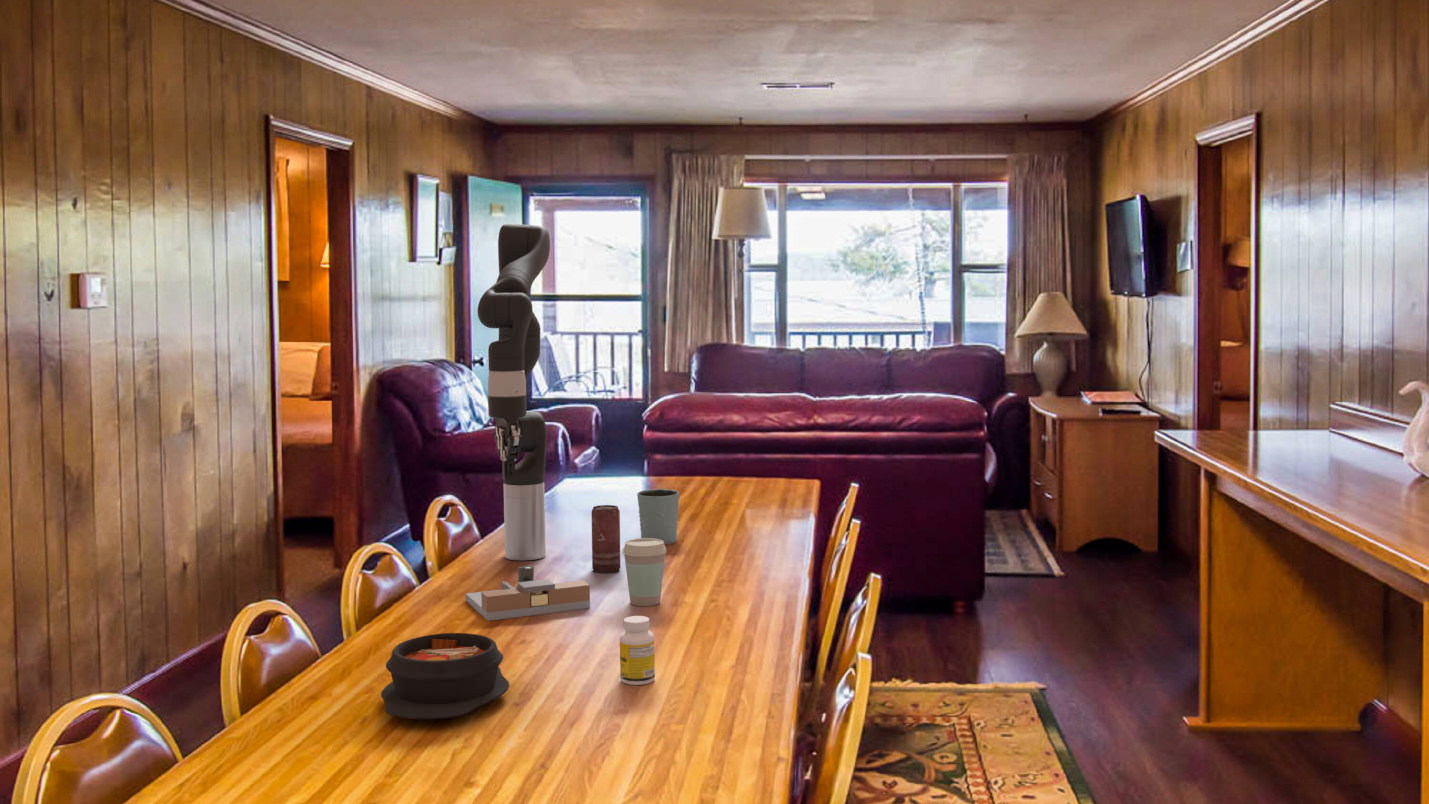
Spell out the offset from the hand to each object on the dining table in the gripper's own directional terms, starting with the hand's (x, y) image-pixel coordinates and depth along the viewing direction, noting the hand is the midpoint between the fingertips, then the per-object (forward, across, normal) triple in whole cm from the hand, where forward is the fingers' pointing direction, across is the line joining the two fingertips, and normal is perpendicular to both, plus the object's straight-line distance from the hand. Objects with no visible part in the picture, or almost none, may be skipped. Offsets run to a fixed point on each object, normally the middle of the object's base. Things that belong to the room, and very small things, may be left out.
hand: (508, 479), depth 241 cm
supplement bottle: (+23, -63, -2) cm, 67 cm away
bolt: (+21, -14, 0) cm, 25 cm away
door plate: (+23, -11, 0) cm, 25 cm away
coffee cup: (+23, -20, -21) cm, 37 cm away
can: (+23, +9, -24) cm, 35 cm away
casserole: (+23, -59, +27) cm, 69 cm away
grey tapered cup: (+23, +32, -46) cm, 61 cm away
